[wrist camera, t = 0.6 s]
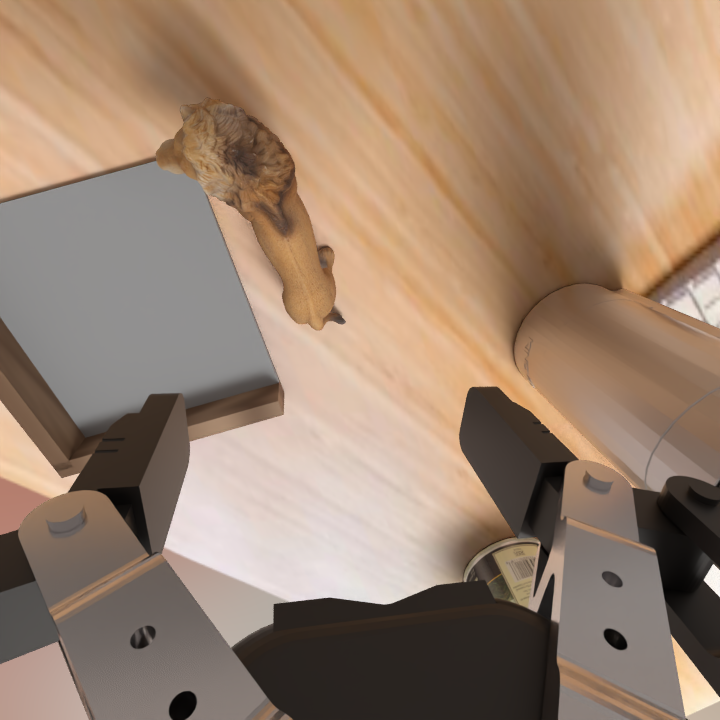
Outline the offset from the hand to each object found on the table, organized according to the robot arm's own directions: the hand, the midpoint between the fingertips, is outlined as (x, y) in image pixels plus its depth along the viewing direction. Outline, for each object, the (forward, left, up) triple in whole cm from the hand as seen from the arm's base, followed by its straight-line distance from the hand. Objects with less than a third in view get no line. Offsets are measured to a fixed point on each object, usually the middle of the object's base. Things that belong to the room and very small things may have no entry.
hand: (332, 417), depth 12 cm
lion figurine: (+1, -3, -19) cm, 19 cm away
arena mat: (+12, 0, -18) cm, 22 cm away
